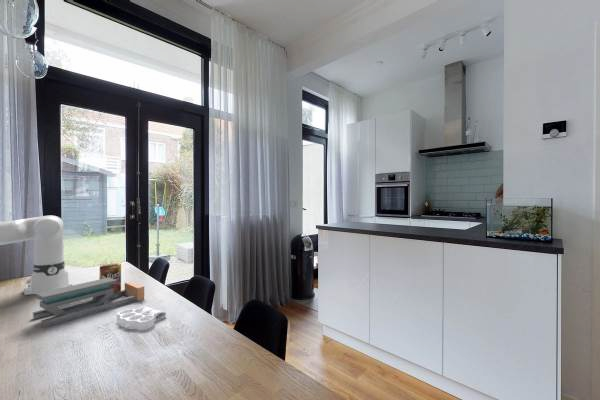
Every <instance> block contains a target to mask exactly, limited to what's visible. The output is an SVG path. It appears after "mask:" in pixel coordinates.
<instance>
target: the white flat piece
mask: <svg viewBox="0 0 600 400" xmlns="http://www.w3.org/2000/svg"><path fill="white" fill-rule="evenodd" d="M166 316H167V313H166V311H163V310H159V309H156V308H152V307H149V306H146V305H145V306H141V307H138V308H128V309H123V310H120V311H118V312H117V314H116V323H115V325H119V327H121V328H122V327H123V328H125V329H126V330H138V331H144V330H148V329H151V328H153V327H154V326H155V323H156V321H160V320H162V319H164V318H165V317H166Z"/></svg>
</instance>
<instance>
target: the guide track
mask: <svg viewBox="0 0 600 400" xmlns="http://www.w3.org/2000/svg"><path fill="white" fill-rule="evenodd" d="M124 296H126V290H125V289H123V290H122V289H121V291H118V292H114V293H113V294H112V295H111V297H110V298H109V299H108V300H107V301H108V302H105V303H104V304H101V305H97V306H93V307H89V308H86V309H82V310H78V311H75V312H71V313H67V314H63V315H60V316H58V315H55V316H53V315H54V314H53V313H51V312H49V311H47V310H45V309H42V310H36V311H34V312H32V319H33V320H38V319H41V320H40V328H41V329H45V328H48V327H52V326H55V325H58V324H63V323H65V322H70V321H72V320H75V319H80V318H82V317H86V316H89V315H90V316H91V315H93V314H97V313H100V312H103V311H107V310H109V309H110V310H111V309H114V308H117V307H122V306H124V305H128V304H131V303H135V302H139V301H138V296H137V295H134V296H130V297H128V296H126V297H124ZM122 297H124V298H122ZM92 298H93V297H92ZM92 298H88V299H85V300H81V301H77V302H73V303H69V304H66V305H62V306H58V308H60V307H64V306H68V305H72V304H75V303H79V302H83V301H86V300H90V299H92ZM117 298H120V299H117ZM114 299H116V300H114ZM110 300H112V301H110ZM50 316H53V317H50ZM45 317H49V318H45ZM42 318H45V319H43V320H42Z"/></svg>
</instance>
